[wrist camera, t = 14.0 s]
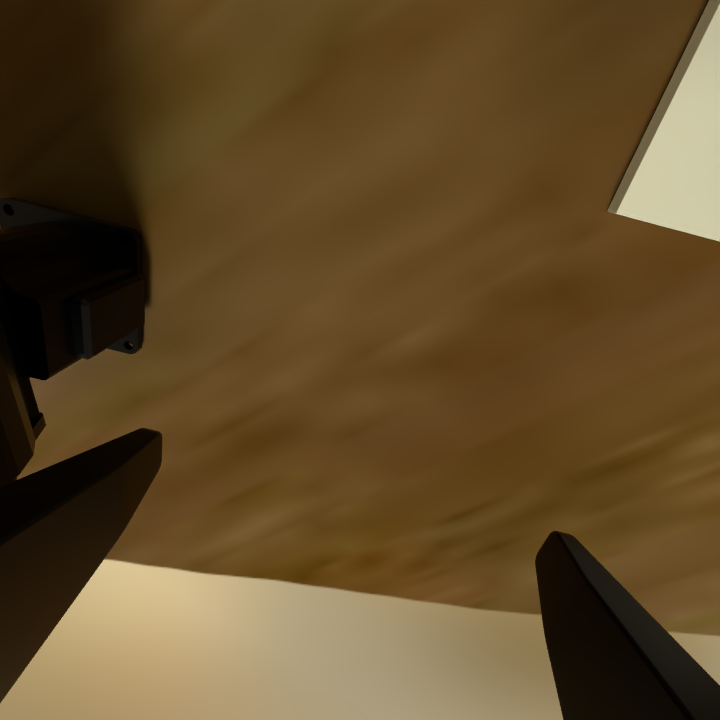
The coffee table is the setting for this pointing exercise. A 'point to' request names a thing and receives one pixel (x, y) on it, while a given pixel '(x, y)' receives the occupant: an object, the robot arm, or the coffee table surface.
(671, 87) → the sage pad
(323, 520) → the coffee table surface
